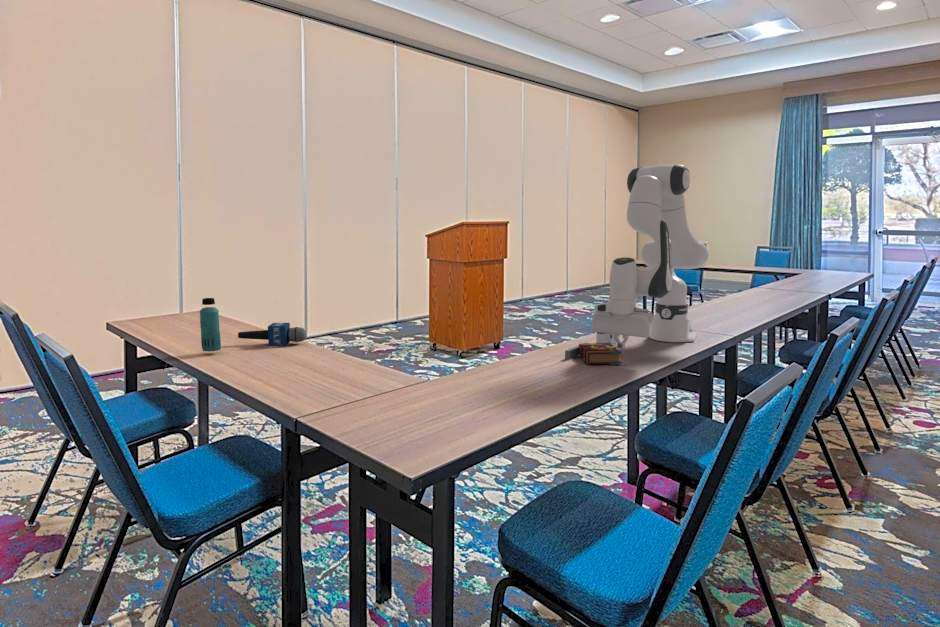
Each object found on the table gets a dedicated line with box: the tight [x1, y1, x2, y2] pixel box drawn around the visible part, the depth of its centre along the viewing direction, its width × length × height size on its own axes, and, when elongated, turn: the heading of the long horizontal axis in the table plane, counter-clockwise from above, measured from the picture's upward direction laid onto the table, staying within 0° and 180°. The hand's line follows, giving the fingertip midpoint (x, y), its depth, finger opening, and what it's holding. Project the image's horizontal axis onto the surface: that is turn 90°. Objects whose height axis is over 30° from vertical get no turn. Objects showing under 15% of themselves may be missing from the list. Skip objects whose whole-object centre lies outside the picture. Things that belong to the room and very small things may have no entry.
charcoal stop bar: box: [564, 342, 590, 360], centre depth 220 cm, size 16×2×3 cm, turn 145°
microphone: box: [237, 322, 307, 347], centre depth 238 cm, size 8×8×25 cm
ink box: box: [595, 332, 617, 347], centre depth 231 cm, size 9×5×12 cm, turn 147°
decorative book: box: [578, 342, 622, 366], centre depth 213 cm, size 11×16×5 cm
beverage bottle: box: [199, 297, 222, 353], centre depth 221 cm, size 6×7×20 cm
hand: (620, 347), depth 211 cm, fingers closed
